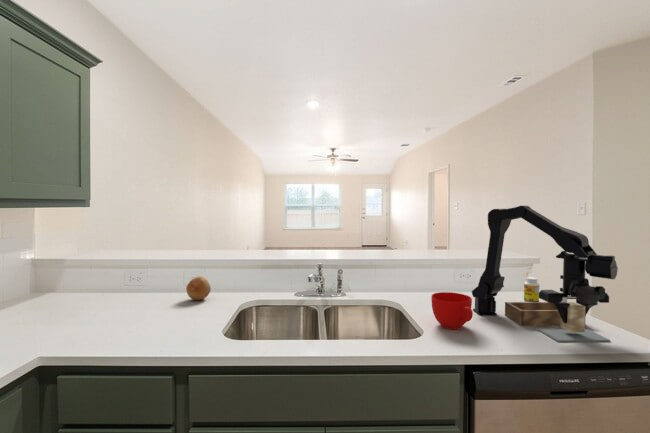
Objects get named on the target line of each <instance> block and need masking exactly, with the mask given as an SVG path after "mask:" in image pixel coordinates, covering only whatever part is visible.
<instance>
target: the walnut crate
mask: <svg viewBox="0 0 650 433" xmlns="http://www.w3.org/2000/svg"><path fill="white" fill-rule="evenodd" d="M504 316H505V317H506V318H509V319H510V320H511V321H513V322H514V323H516V324H518V325H519V326H522V327H523V326H525V327H528V326H529V327H530V326H531V327H533V326H537V327H538V326H561V316H560V314H559V312H558V310H557V308H556V306H555V304H554V303H549V302H547V301H539V302H525V301H516V302H515V301H505V302H504ZM586 316H587V315H586ZM586 316H585V320H586Z"/></svg>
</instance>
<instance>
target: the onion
mask: <svg viewBox="0 0 650 433" xmlns="http://www.w3.org/2000/svg"><path fill="white" fill-rule="evenodd" d="M185 289H186V294H187V296H188V297H189V299H192V300H194V301H196V302H199V301H202V300H203V299H206V298H207V297H208V296H209V294H210V293H211V285H210V282H209V281H208V279H206V278H204V277H203V276H201V275H199V276H197V277H196V276H195V277H194V278H192V279H191V280H190V281H189V282H188V283H187V286H186V288H185Z"/></svg>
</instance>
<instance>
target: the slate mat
mask: <svg viewBox="0 0 650 433" xmlns="http://www.w3.org/2000/svg"><path fill="white" fill-rule="evenodd" d="M537 331H538V332H540V333H542V334H543V335H544V336H547V337H549V338H551V340H553V341H555V342H557V343H585V342H586V343H588V342H589V343H591V342H592V343H593V342H594V343H595V342H596V343H597V342H598V343H603V342H604V343H606V342H607V343H608V342H611V340H610V339H609V338H607V337H605V336H603V335H601V334H598V332H597V333H596V332H595V331H593V330H591V329H588V328H586V327H585V332H569V331H567V330H565V329H563V328H537Z"/></svg>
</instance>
